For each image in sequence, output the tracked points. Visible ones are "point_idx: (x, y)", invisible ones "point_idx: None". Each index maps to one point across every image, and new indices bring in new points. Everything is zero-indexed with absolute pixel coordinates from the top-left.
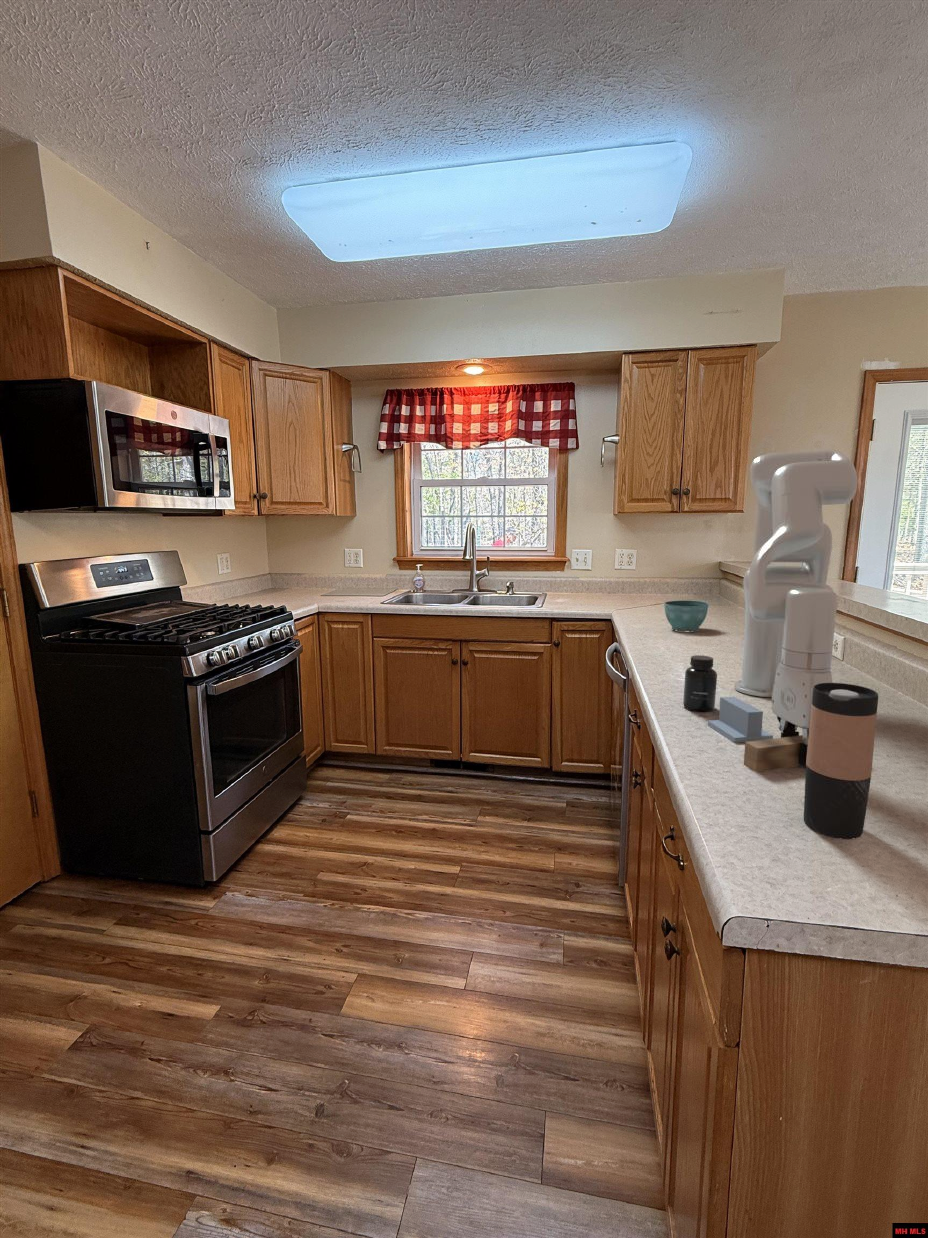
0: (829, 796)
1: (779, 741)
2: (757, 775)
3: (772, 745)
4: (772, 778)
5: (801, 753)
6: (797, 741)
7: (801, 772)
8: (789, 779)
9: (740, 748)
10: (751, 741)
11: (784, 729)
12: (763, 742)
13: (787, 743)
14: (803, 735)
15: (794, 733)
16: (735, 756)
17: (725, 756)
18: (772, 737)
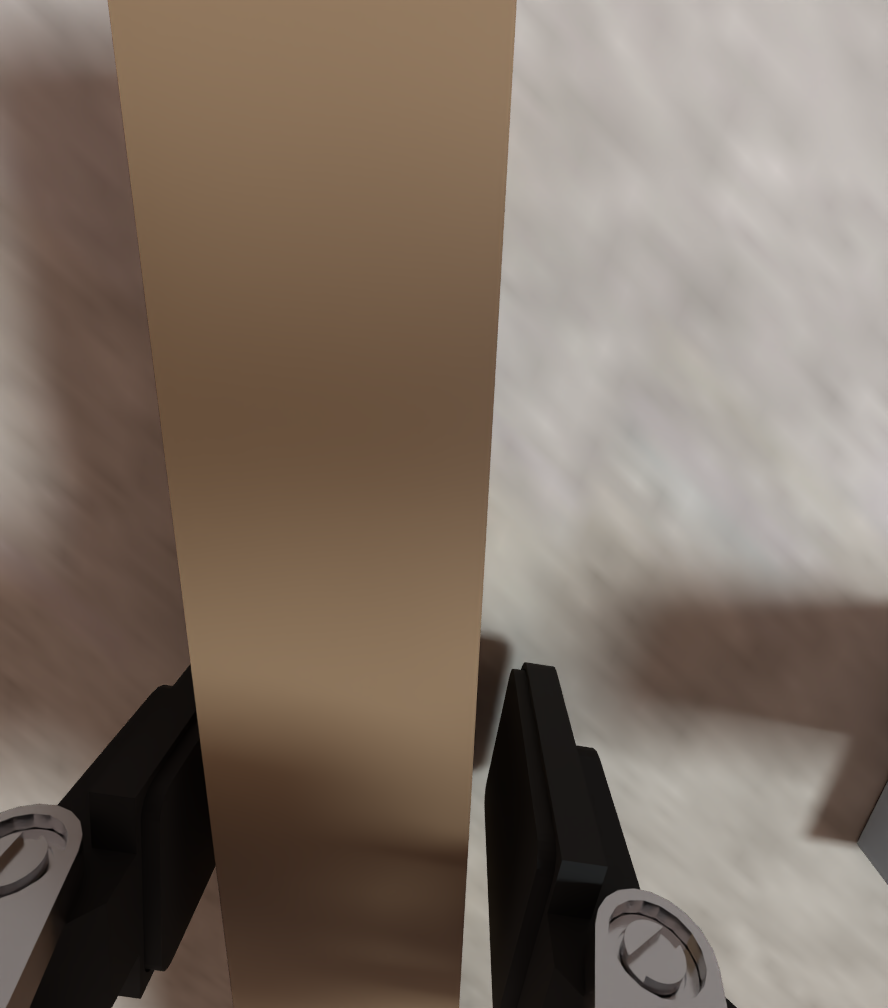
0: None
1: (334, 598)
2: None
3: (186, 331)
4: (78, 136)
5: (169, 691)
6: (274, 829)
7: (174, 546)
8: (37, 309)
9: (884, 419)
10: (502, 39)
11: (592, 954)
12: (368, 275)
13: (231, 652)
14: (5, 956)
15: (514, 984)
16: (737, 173)
17: (799, 26)
18: (878, 865)
